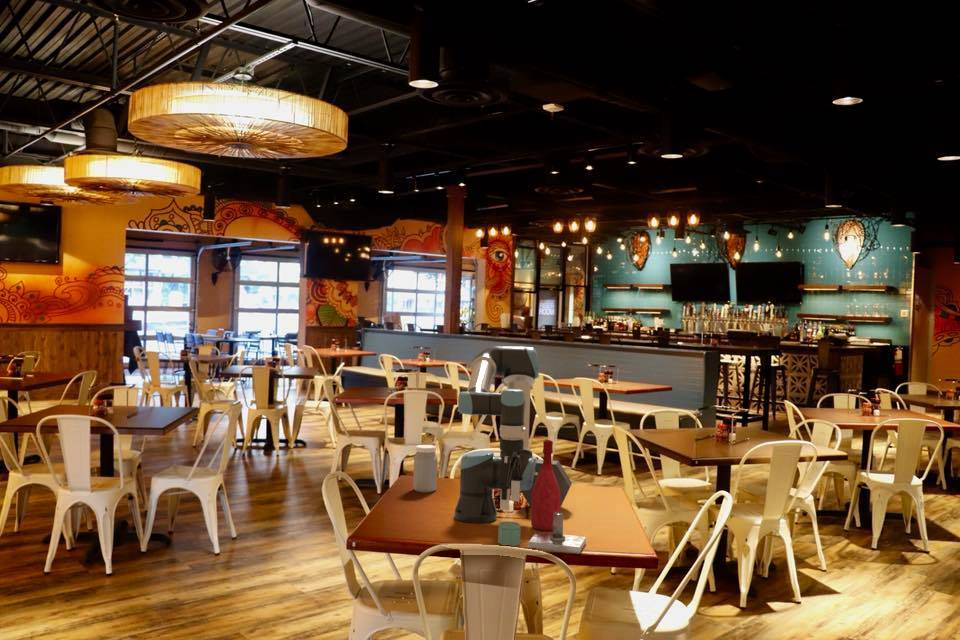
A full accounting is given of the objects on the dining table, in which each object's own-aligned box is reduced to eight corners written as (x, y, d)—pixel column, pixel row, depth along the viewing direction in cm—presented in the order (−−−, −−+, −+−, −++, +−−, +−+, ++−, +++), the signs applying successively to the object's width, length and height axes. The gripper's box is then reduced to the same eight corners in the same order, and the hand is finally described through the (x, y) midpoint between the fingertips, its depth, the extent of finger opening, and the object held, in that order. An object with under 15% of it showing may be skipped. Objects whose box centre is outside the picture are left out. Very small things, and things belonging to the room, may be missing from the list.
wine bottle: (551, 533, 262) (554, 443, 262) (525, 528, 267) (528, 440, 268) (564, 527, 271) (567, 440, 271) (538, 522, 276) (541, 437, 276)
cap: (496, 544, 248) (496, 525, 248) (501, 539, 254) (502, 520, 254) (516, 547, 246) (517, 527, 246) (521, 541, 252) (522, 522, 252)
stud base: (528, 548, 245) (529, 516, 245) (536, 537, 257) (537, 507, 257) (579, 553, 241) (580, 521, 240) (585, 543, 252) (586, 512, 252)
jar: (410, 492, 318) (411, 447, 318) (416, 486, 328) (417, 443, 328) (433, 493, 316) (435, 448, 316) (439, 488, 326) (440, 445, 326)
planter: (579, 495, 298) (551, 448, 301) (577, 500, 291) (548, 451, 293) (542, 517, 302) (514, 469, 304) (539, 522, 294) (510, 473, 297)
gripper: (513, 444, 237) (511, 515, 237) (532, 434, 261) (530, 498, 260) (489, 442, 239) (487, 512, 239) (510, 432, 263) (508, 496, 263)
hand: (510, 505), depth 250 cm, fingers open, 13 cm apart
